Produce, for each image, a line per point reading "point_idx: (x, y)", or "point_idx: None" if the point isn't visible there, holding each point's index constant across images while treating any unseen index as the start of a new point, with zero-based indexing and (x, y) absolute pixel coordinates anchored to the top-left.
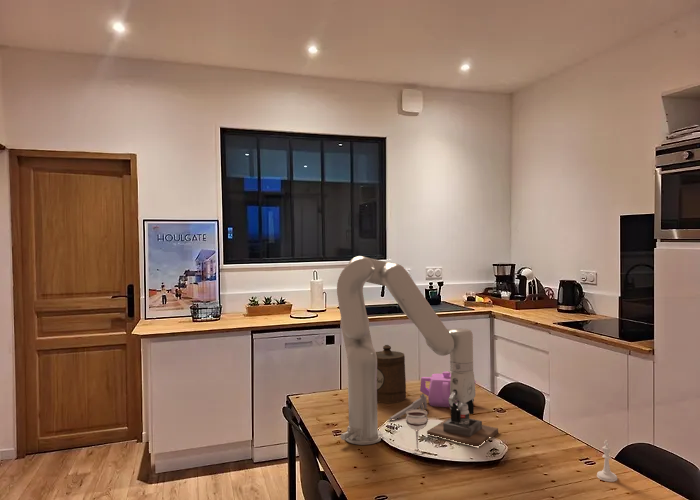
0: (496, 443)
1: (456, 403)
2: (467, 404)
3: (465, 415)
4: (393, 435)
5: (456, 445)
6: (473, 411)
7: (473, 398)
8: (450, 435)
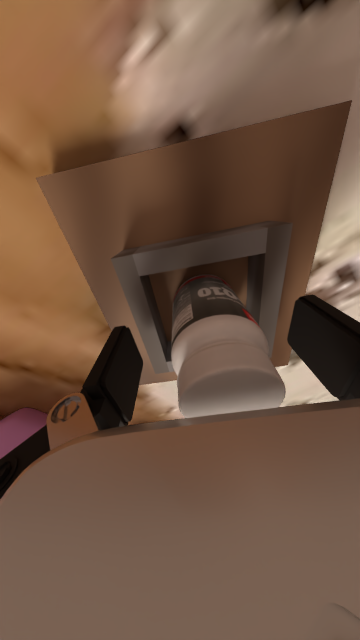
0: (190, 58)
1: (38, 424)
2: (194, 384)
3: (244, 315)
4: (318, 395)
5: (326, 238)
6: (112, 334)
7: (50, 426)
8: (291, 296)
